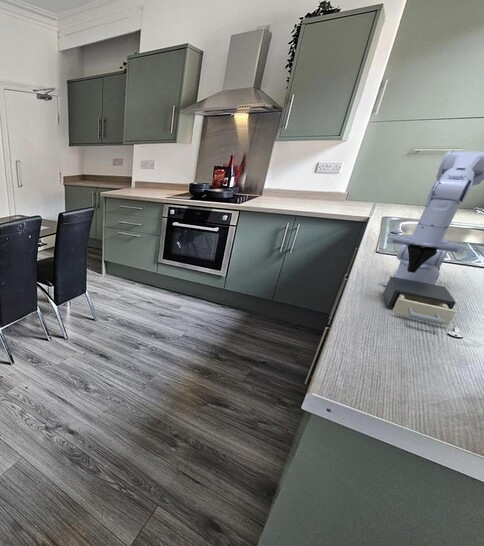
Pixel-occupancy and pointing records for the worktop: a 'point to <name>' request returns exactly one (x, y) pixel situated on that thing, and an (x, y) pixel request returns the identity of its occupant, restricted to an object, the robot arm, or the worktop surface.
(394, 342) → the worktop surface
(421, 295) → the drawer box
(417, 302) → the cream drawer
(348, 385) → the worktop surface
